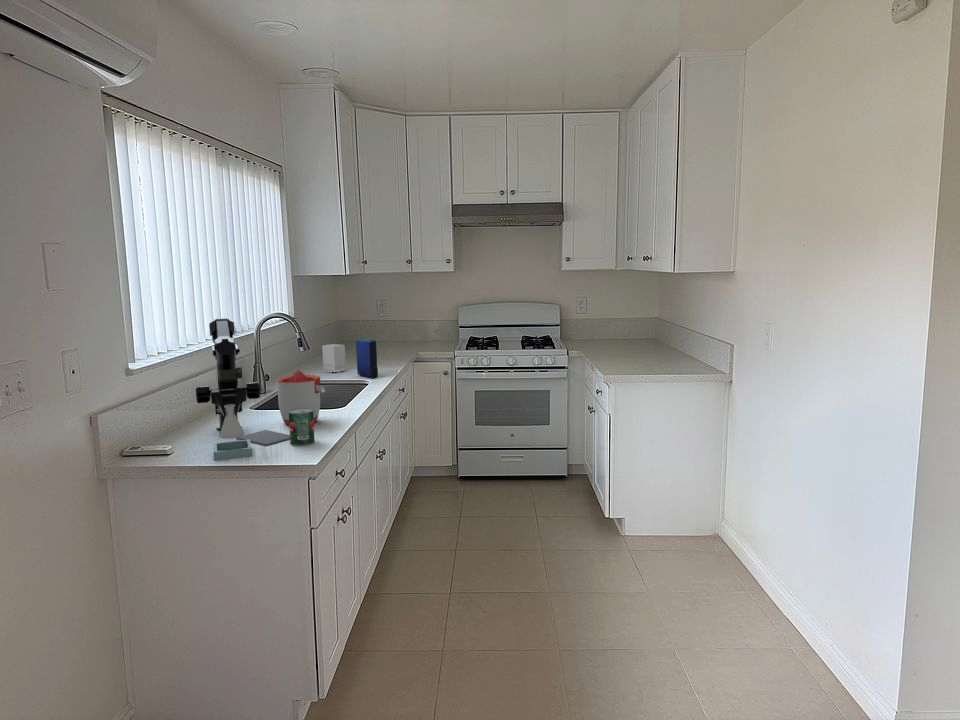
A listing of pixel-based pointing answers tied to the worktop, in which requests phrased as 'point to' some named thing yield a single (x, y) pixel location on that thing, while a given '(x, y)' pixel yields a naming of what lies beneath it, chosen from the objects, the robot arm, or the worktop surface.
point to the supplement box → (333, 357)
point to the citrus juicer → (299, 394)
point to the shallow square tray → (232, 449)
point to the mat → (265, 437)
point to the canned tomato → (301, 426)
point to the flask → (230, 424)
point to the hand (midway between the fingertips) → (230, 415)
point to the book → (366, 358)
